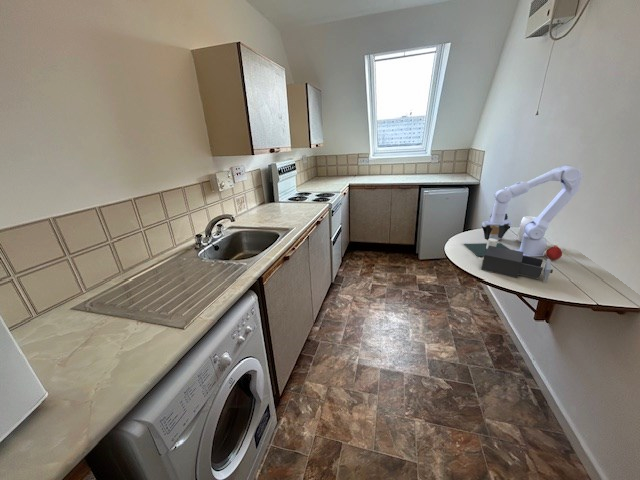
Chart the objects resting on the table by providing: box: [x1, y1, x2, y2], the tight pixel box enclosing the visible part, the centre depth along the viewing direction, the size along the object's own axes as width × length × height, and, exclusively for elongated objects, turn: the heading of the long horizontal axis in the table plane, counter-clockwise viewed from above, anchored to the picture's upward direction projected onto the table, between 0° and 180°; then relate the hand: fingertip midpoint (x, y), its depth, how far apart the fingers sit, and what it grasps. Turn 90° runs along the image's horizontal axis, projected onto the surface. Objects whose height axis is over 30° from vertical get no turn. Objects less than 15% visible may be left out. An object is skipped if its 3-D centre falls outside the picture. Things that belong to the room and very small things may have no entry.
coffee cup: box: [489, 213, 509, 241], centre depth 152 cm, size 8×8×15 cm
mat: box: [463, 242, 510, 258], centre depth 141 cm, size 20×16×1 cm
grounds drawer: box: [518, 255, 554, 283], centre depth 115 cm, size 14×11×6 cm
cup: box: [516, 215, 538, 243], centre depth 145 cm, size 8×8×14 cm
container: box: [486, 238, 499, 249], centre depth 141 cm, size 4×4×5 cm
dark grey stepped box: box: [481, 246, 523, 279], centre depth 121 cm, size 14×13×8 cm
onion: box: [545, 244, 563, 262], centre depth 126 cm, size 6×6×8 cm
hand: (493, 238), depth 139 cm, fingers open, 7 cm apart
